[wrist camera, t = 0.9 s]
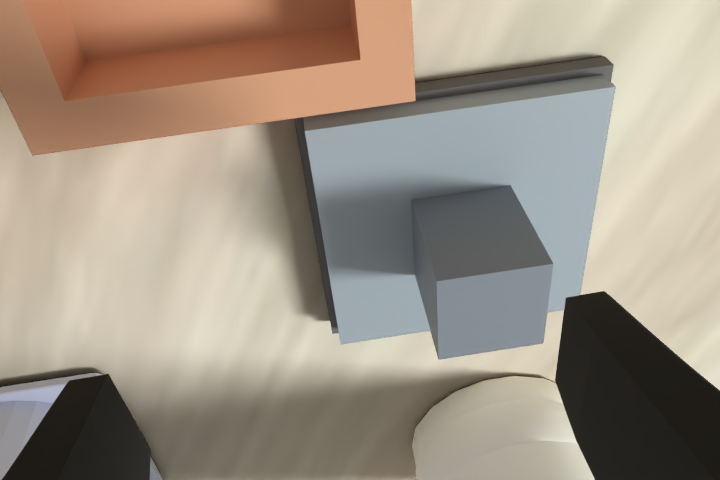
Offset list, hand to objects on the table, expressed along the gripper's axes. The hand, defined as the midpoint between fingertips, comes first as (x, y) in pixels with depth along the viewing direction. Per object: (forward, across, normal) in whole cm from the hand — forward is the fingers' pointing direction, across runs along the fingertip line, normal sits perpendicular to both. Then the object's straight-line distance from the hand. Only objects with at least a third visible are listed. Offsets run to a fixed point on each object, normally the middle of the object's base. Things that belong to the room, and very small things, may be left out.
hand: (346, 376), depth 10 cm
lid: (+9, -4, +4) cm, 11 cm away
